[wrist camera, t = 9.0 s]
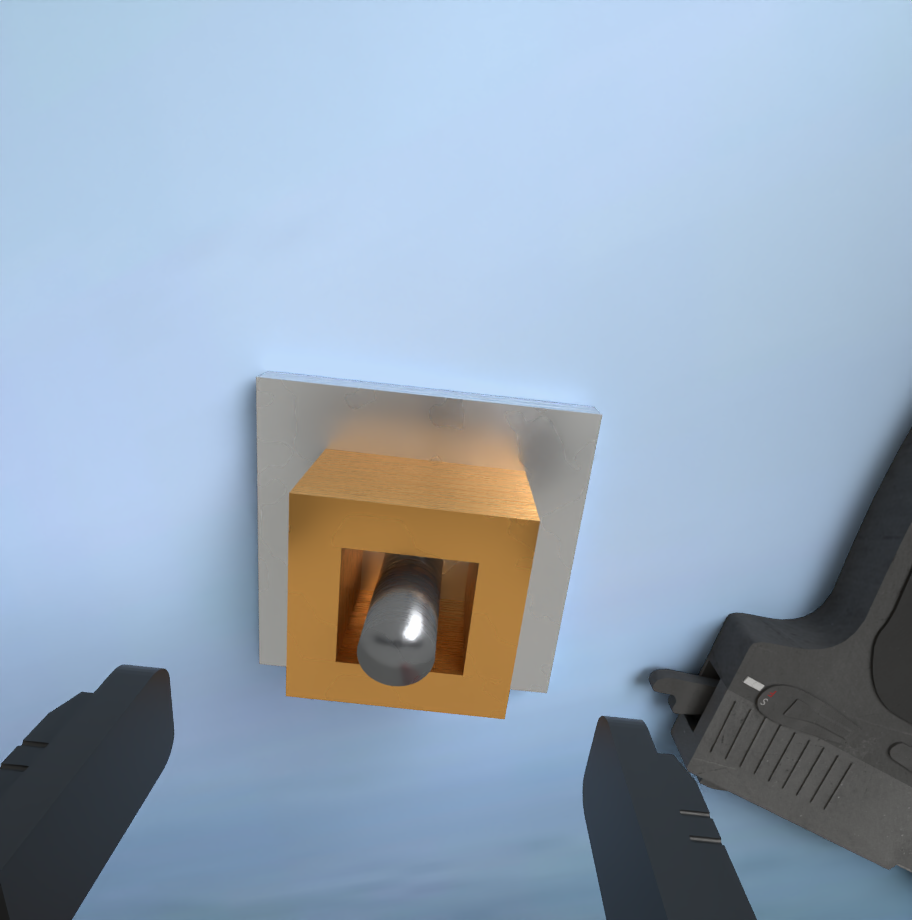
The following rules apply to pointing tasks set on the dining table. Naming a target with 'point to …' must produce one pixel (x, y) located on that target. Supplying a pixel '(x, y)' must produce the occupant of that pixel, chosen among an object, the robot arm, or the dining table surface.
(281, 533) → the keeper
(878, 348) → the dining table surface
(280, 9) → the dining table surface
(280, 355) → the dining table surface
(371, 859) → the dining table surface
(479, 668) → the ring
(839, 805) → the handgun
